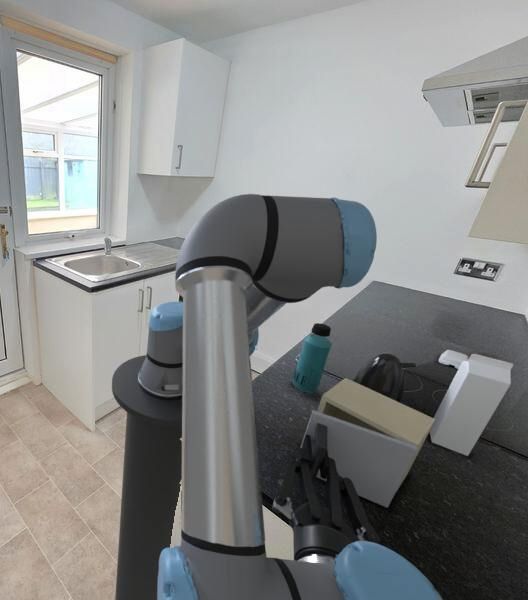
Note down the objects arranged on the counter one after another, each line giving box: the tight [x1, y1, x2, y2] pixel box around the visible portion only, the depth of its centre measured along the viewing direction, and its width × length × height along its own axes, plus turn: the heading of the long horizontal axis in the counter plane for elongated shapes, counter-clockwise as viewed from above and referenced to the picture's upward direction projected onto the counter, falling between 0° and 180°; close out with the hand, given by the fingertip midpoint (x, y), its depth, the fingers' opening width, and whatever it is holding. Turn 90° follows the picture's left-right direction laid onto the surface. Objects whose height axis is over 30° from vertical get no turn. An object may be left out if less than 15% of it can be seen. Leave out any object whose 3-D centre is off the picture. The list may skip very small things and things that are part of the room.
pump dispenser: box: [352, 352, 417, 403], centre depth 80 cm, size 10×10×15 cm
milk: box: [429, 353, 514, 457], centre depth 67 cm, size 6×6×22 cm
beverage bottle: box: [291, 322, 332, 393], centre depth 83 cm, size 6×7×20 cm
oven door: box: [295, 409, 417, 509], centre depth 54 cm, size 7×15×14 cm, turn 59°
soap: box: [438, 349, 469, 370], centre depth 104 cm, size 9×7×3 cm
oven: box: [316, 377, 436, 496], centre depth 62 cm, size 11×15×14 cm
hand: (313, 443), depth 58 cm, fingers closed
